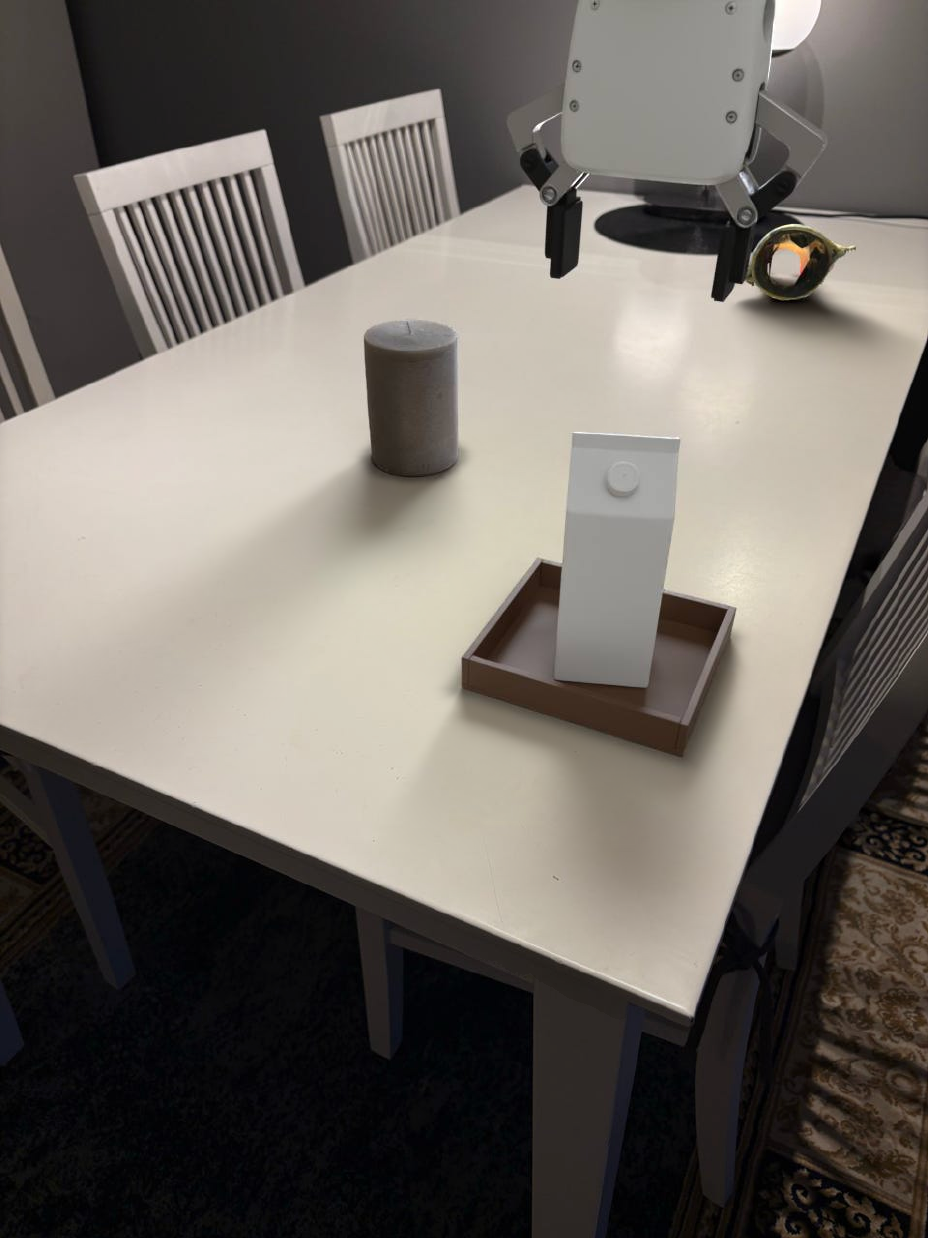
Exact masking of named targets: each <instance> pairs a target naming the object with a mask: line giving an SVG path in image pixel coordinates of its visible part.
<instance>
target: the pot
mask: <svg viewBox="0 0 928 1238" xmlns="http://www.w3.org/2000/svg"><path fill="white" fill-rule="evenodd" d="M857 248H858V246H857V245H849V246H844V245H840V244H838V243H837V242H835V241H832V240H831V239H830V238H828V237H826V236H825V235H824V234H823V233H822V232H821V231H819V230H818V229H816V228H814V227H811V226H807V225H804V224H797V223H791V224H785V225H781V226H779V227H776V228H774V229H772V230H771V231H770V232H768V233H767V234H766V235H765V236H763V237H762V238H761V239H760V240H759V241H758V243H757V245H756V246H755V248H754V250H753V252H752V253H751V256H750V261H749V267H748V272H747V276H746V279H745V281H744V283H746V284H747V285H750V286H751V287H754V286H755V287H757V288H758V289H759V290H760V292H761V293H763V294H764V295H767V296H769V298H770V297H771V298H773V299H776V300H780V301H790V300H800V299H802V298H806V297H808V296H810V295H811V293H814V292H815V291H816V290H818V288H819V286H820V285H823V283H824V282H825V280H826V278H827V277H828V276H829V274H830V273H831V272H832V271H833V269H834V266H835V264H836V263H837V262H838V260H839V259H841V258H843V257H844V256H846V253H850V252H852V251H855V252H856V251H857ZM781 250H788V251H791V252H794V253H796V254H797V256H798V258H799V273H798V278H797V279H796V281H795V283H794V284H793V285H789V286H785V287H782V286H781V285H779V284H778V283H777V282H776V281H775V280H773V279H772V278H771V270H772V263H773V256H774V255H775V253H777V252H778V251H781Z"/></svg>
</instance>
